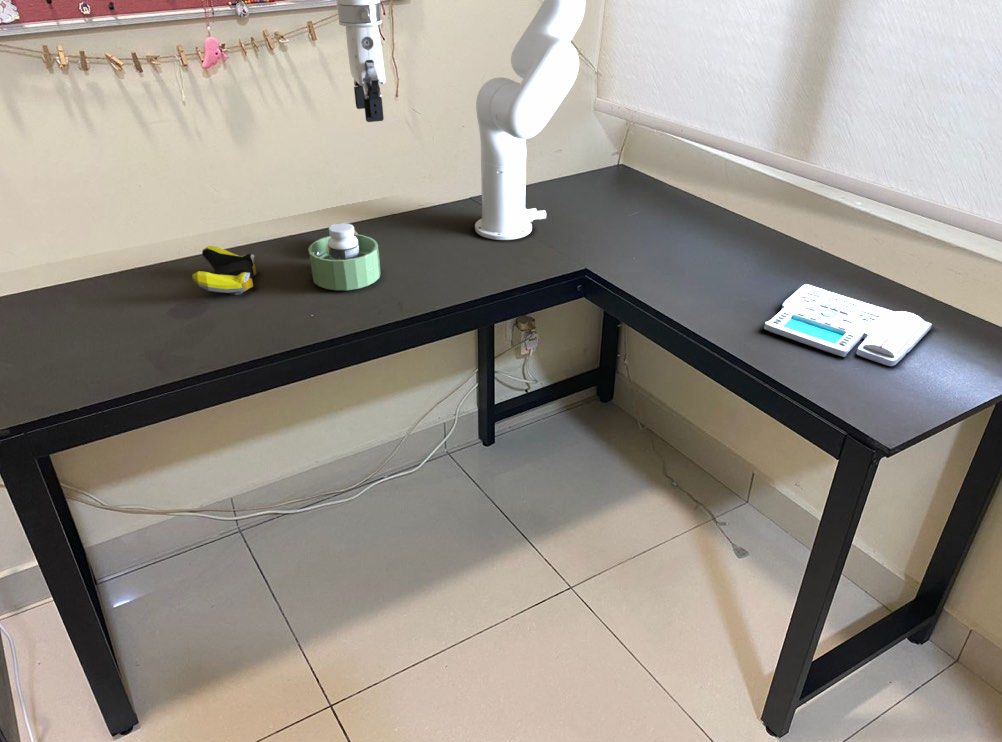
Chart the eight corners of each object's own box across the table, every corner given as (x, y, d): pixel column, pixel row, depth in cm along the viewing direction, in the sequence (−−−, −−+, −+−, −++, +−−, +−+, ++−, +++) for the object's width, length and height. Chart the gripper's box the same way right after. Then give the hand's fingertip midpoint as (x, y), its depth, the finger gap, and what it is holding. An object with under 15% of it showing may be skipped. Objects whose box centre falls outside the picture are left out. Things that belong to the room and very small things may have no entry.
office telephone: (935, 316, 139) (896, 361, 126) (930, 329, 140) (892, 375, 127) (806, 277, 151) (759, 314, 138) (803, 289, 152) (757, 328, 140)
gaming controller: (195, 303, 147) (251, 300, 148) (188, 276, 144) (245, 272, 145) (208, 269, 159) (259, 266, 160) (202, 243, 156) (254, 240, 157)
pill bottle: (326, 275, 156) (319, 227, 150) (349, 266, 159) (343, 219, 154) (344, 284, 153) (338, 235, 147) (367, 275, 156) (362, 227, 150)
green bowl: (373, 260, 163) (370, 230, 159) (386, 287, 153) (383, 255, 149) (309, 269, 159) (304, 238, 156) (318, 297, 149) (313, 264, 146)
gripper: (391, 20, 135) (399, 124, 144) (371, 6, 148) (379, 101, 158) (347, 23, 133) (358, 128, 142) (330, 8, 146) (342, 105, 156)
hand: (369, 114), depth 150 cm, fingers open, 9 cm apart
